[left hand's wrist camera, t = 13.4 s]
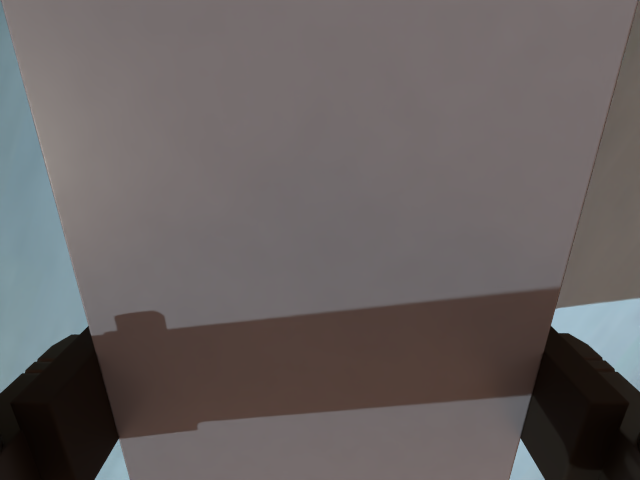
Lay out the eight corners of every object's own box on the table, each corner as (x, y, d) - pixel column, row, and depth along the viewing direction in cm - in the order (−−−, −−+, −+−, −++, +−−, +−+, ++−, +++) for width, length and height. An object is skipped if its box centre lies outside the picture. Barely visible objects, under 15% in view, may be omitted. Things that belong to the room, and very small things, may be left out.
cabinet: (183, -36, 14) (-82, -295, 5) (455, -36, 14) (720, -292, 5) (224, 326, 20) (141, 526, 11) (415, 326, 20) (497, 525, 11)
